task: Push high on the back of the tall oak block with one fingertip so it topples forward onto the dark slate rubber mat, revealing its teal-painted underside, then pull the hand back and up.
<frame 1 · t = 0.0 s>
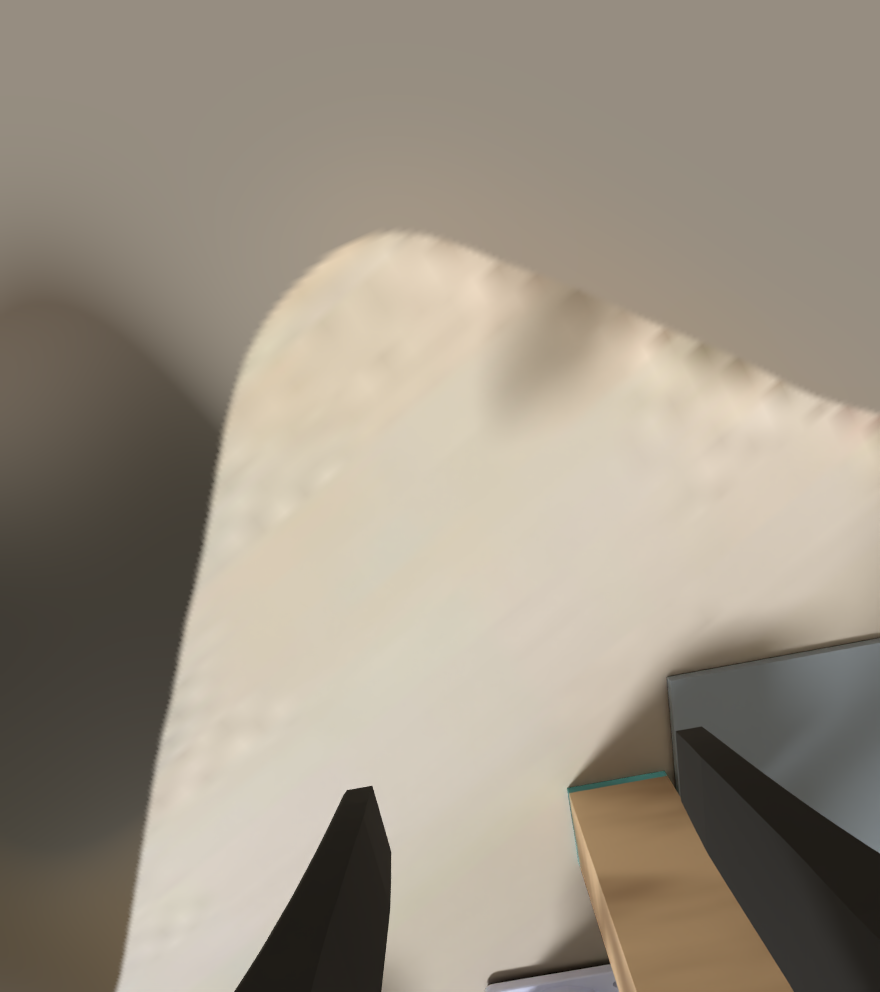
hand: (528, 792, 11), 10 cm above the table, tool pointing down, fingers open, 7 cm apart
oak block: (620, 817, 24), on the table
slate mat: (812, 784, 23), on the table
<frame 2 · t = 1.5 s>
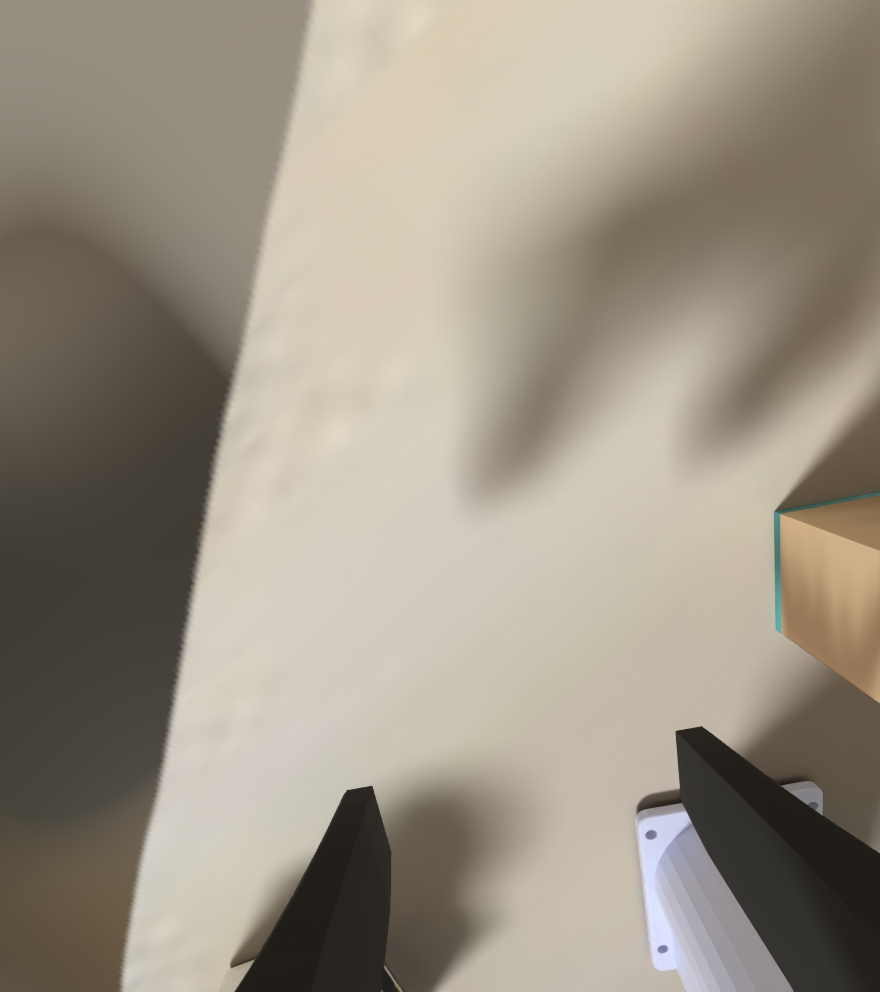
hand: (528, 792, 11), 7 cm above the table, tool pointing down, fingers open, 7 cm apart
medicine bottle: (325, 984, 23), on the table
oak block: (839, 560, 17), on the table
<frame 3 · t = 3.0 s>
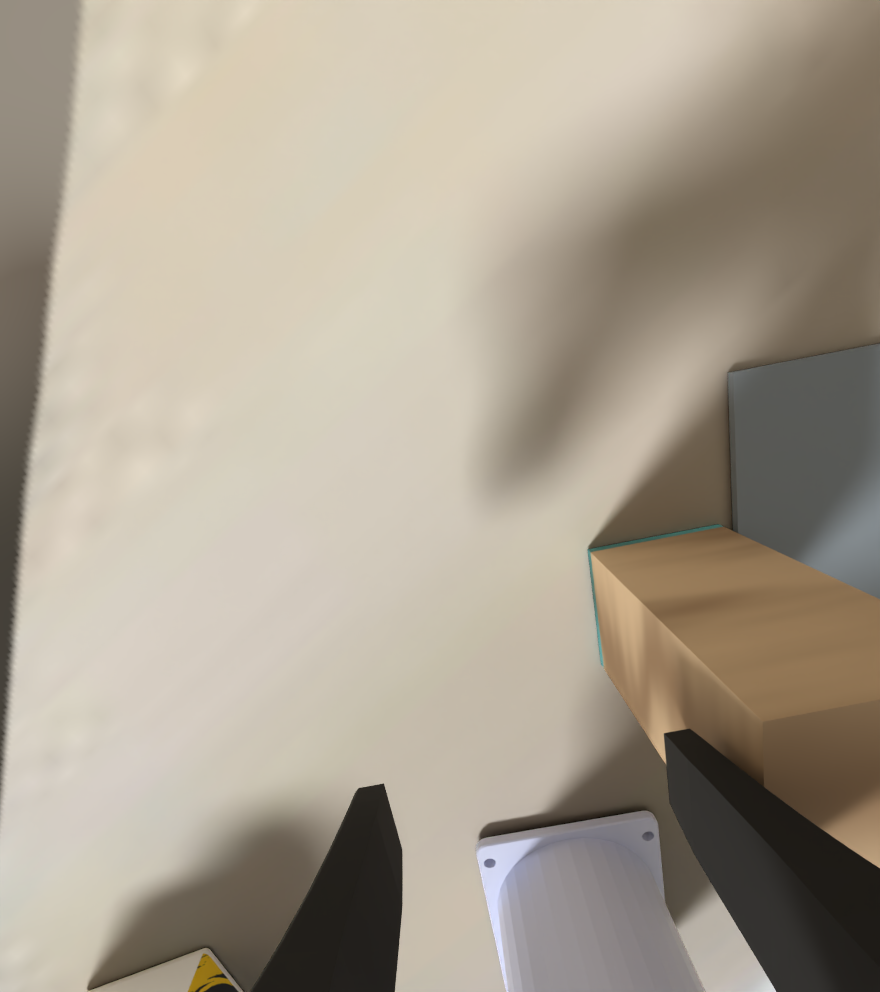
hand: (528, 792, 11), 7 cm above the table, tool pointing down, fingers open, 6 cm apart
oak block: (657, 596, 18), on the table, touching gripper
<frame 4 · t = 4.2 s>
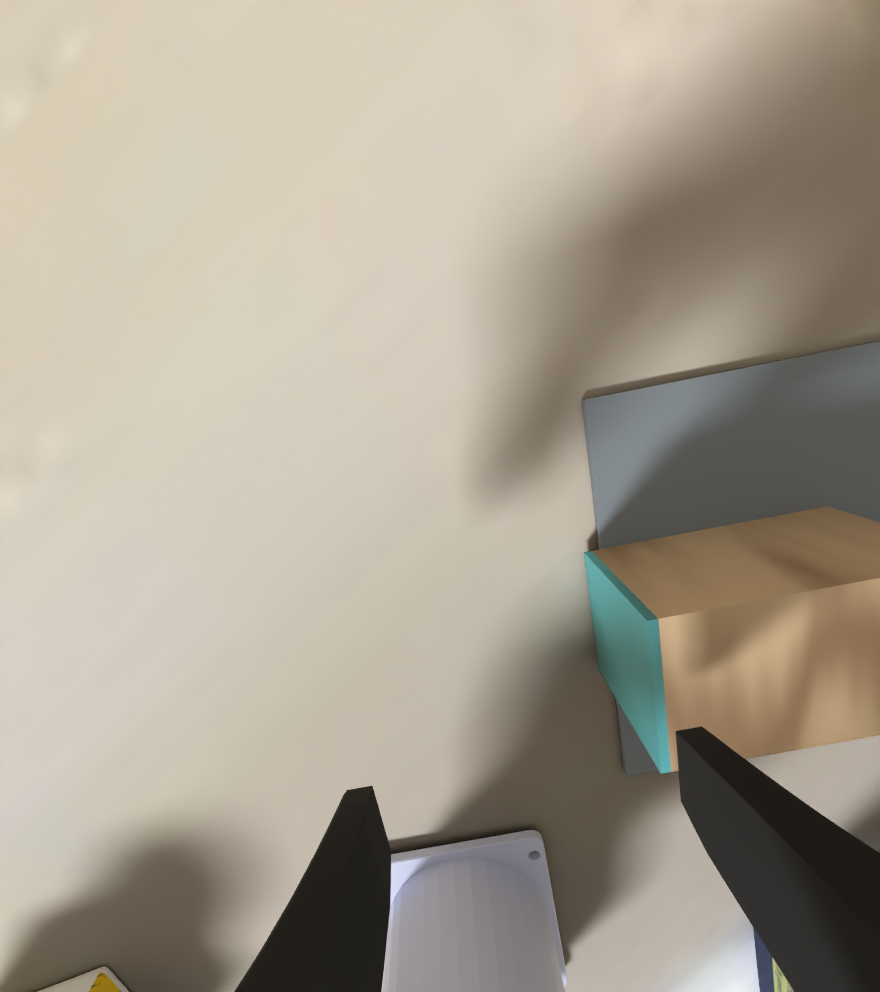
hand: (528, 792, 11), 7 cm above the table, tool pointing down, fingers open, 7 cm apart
oak block: (617, 649, 15), point 3 cm above the table, tilted 90°, touching slate mat
slate mat: (784, 572, 17), on the table
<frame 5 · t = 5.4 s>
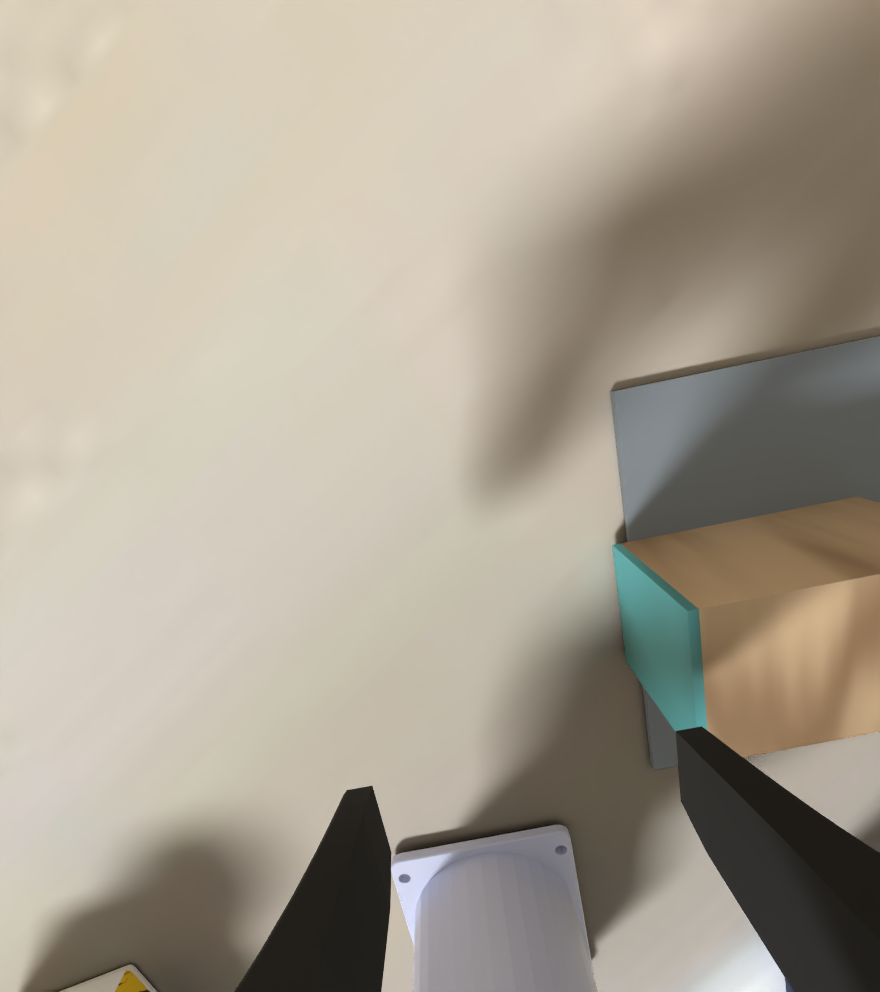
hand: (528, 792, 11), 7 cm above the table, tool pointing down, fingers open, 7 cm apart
oak block: (650, 641, 15), point 3 cm above the table, tilted 90°, touching slate mat
slate mat: (813, 563, 17), on the table
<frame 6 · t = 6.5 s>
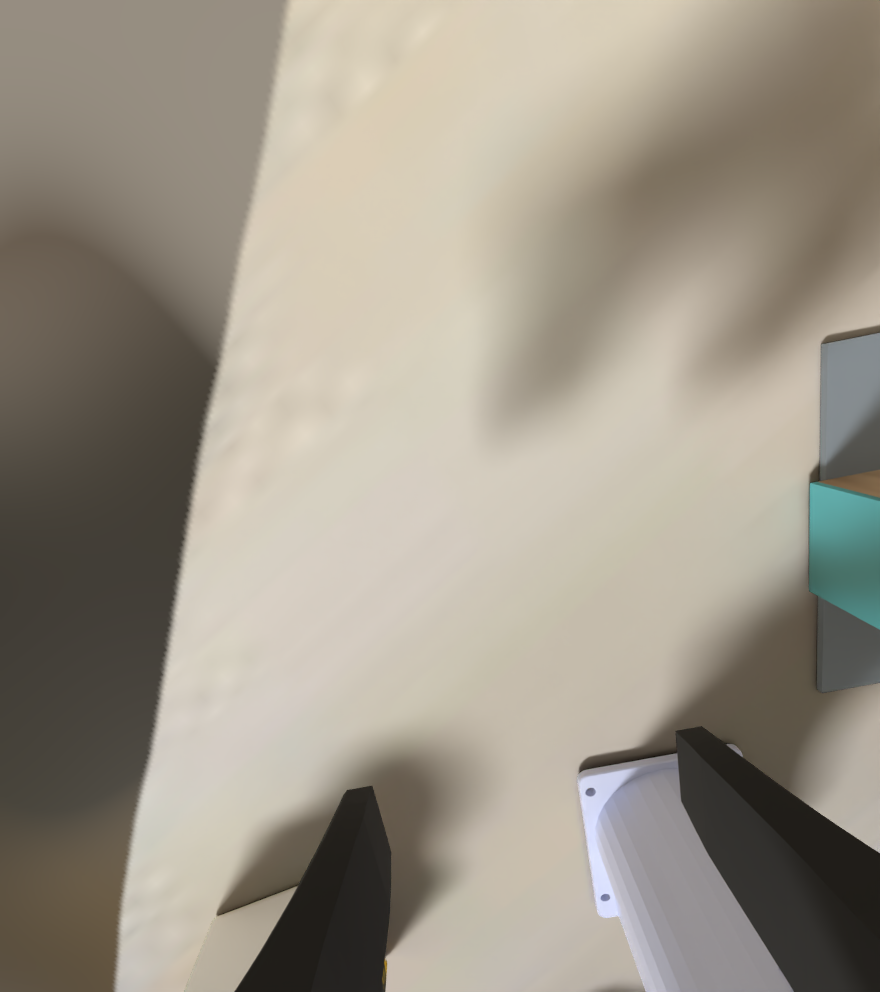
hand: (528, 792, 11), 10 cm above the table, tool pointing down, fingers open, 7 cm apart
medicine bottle: (303, 932, 25), on the table
oak block: (863, 560, 17), point 3 cm above the table, tilted 90°, touching slate mat
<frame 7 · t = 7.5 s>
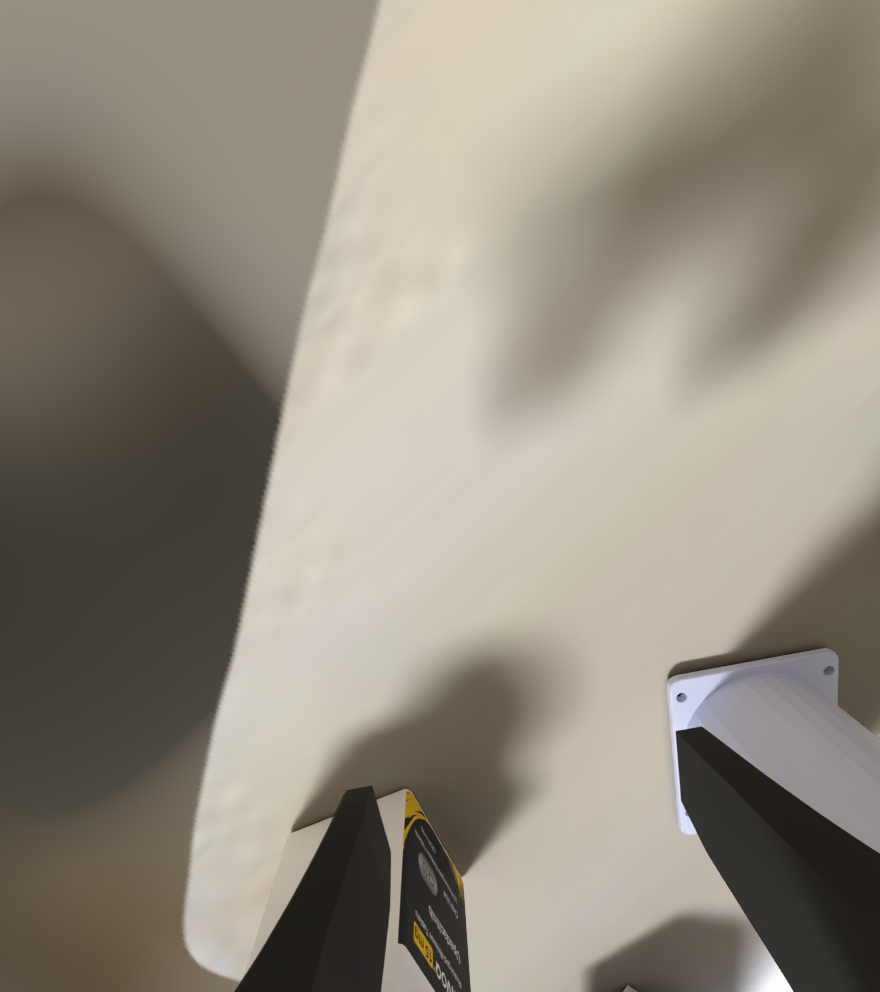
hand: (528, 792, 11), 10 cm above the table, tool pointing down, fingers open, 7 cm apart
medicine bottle: (377, 851, 24), on the table
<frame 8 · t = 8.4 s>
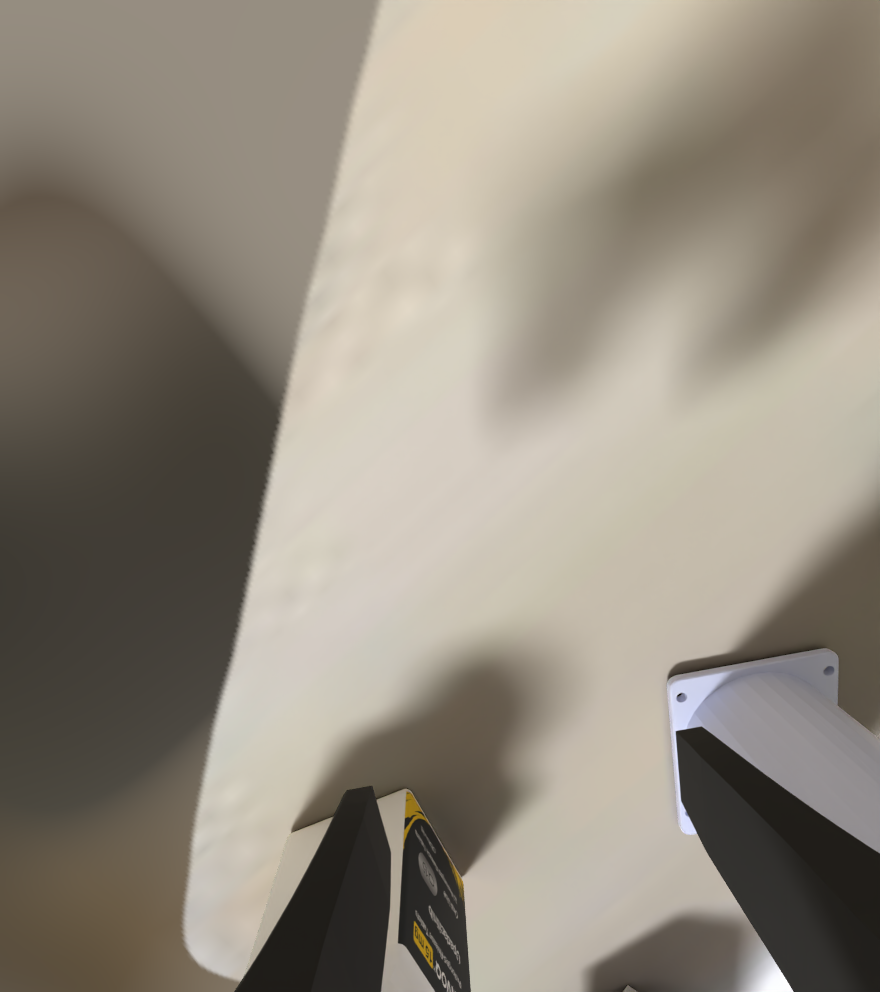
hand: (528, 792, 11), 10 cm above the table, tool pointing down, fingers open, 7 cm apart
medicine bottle: (377, 851, 24), on the table
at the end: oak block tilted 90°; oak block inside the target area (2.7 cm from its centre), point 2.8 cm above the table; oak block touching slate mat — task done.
